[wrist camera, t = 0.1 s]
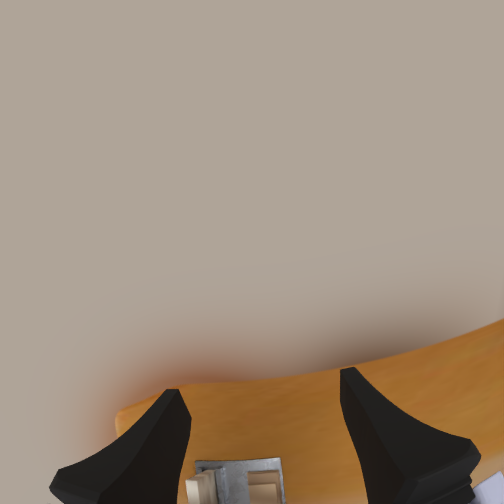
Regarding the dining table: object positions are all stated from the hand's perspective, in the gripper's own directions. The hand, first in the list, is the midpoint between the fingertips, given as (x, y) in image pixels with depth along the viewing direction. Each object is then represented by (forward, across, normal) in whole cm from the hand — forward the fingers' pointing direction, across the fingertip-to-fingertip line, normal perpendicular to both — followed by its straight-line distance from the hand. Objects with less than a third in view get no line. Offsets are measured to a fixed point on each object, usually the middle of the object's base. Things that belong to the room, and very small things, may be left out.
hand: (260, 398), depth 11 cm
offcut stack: (+10, +4, +33) cm, 35 cm away
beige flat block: (+10, +12, +33) cm, 37 cm away
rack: (+10, +8, +33) cm, 36 cm away
